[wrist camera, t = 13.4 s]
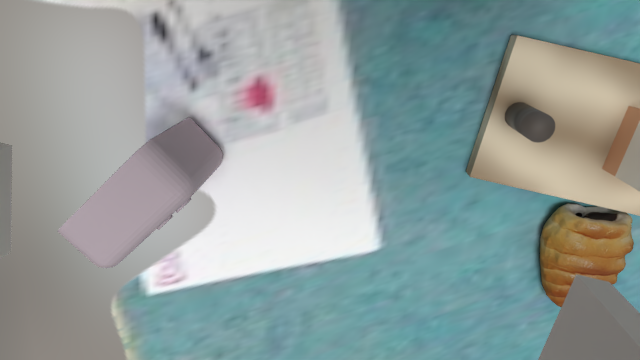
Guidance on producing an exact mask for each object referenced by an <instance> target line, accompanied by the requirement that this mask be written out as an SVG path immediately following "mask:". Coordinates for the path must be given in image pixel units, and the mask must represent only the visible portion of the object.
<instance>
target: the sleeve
mask: <svg viewBox="0 0 640 360" xmlns="http://www.w3.org/2000/svg"><path fill="white" fill-rule="evenodd" d="M602 169H603V170H605V171H606V172H608V173H610V174H611V175H613V176H615V177H616V178H618V179H620V180H621V181H623V182H625V183H626V184H628V185H630V186H631V187H633V188H635V189H636V190H638V191H640V108H636V107H632V106H628V109H627V111H626V113H625V116H624V118H623V120H622V123H621V125H620V127H619V130H618V132H617V134H616V137H615V139H614V141H613V144H612V146H611V148H610V151H609V153H608V155H607V158H606V160H605V162H604V165H603V167H602Z"/></svg>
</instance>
